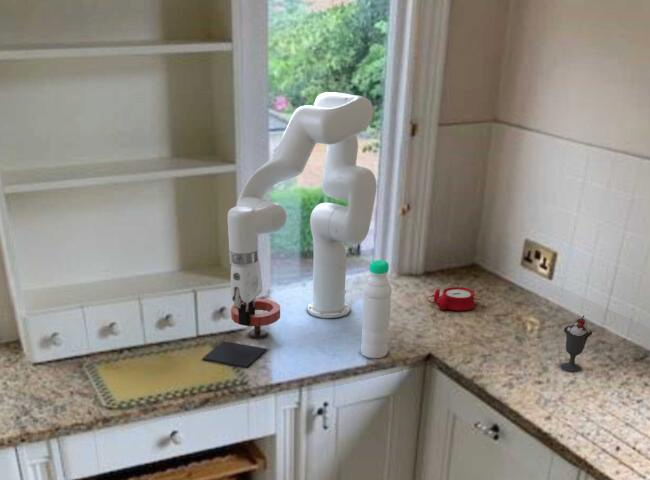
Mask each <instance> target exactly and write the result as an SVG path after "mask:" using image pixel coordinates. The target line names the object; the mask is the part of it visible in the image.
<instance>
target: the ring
mask: <svg viewBox="0 0 650 480" xmlns="http://www.w3.org/2000/svg"><path fill="white" fill-rule="evenodd" d="M241 304H244V303H241ZM244 306H245V304H244ZM253 307H255V311H264V312H265V313H260V314H255V315H250V323H251V324H250V325H249V326H248V325H243V326H245V327H254V326H261V327H264V326H269V325H271V324H274V323H277V322H278V320H280V319H281V305H280V304H279V303H278V302H276V301H274V300H271V299H267V298H255V306H253ZM230 316H231V320H232V321H233V322H234V323H235V324H238V325H240V326H242V325H241V324H239V313H238V310H237V308H234V304H233V305H231V308H230Z"/></svg>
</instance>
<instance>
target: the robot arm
mask: <svg viewBox="0 0 650 480" xmlns="http://www.w3.org/2000/svg"><path fill="white" fill-rule="evenodd" d="M373 117H374V107H373V104H372V102H371V101H370V100H369V99H368V98H367V97H366V96H362V95H359V94H358V95H357V94H356V95H355V94H349V93H348V94H347V93H342V92H332V91H331V92H330V91H329V92H328V91H327V92H323V93H320V94H318V95H317V96H316V98H315V101H314V103H313V105H301V106H299V107H297V108H296V109H295V110H294V111H293V113H292V115H291V117H290V120H289V122H288V123H287V126H286V128H285V129H284V132H283V134H282V137H281V139H280V141H279V143H278V145H277V147H276V149H275V152H274V153H273V156H272V157H271V158H270V159H269V160H268V161H266V162H265V163H263V164H262V165H261V166H260V167H259V168H257V170H256V171H254V172H253V174H251V175H250V177H249V178H248V179H247V180H246V182H245V184H244V186H243V188H242V190H241V192H240V194H239V196H238V199H237V202H236V205H235V206H234V207H231V208H230V209H229V210H228V211H227V232H228V252H229V264H230V265H231V266H230V297H231V300H232V301H233V305H234V308H237V310H238V313H239V324H238V325H240V324H241V325H240V326H244V325H248V326H247V327H250V326H249V325H250V324H251V323H250V315H256V310H255V307H253V306H255V299H257V297H258V296H259V295H260V294H262V292H263V280H262V270H261V264H260V254H259V253H260V252H259V251H260V250H259V235H264V234H274V233H277V232H279V231H280V230H282V228H284V226H285V225H286V222H287V217H288V215H287V211H286V210H285V207H283V206H282V205H280V204H279V203H277V202H274V201H269V200H266V199H263V198H264V197H265V195H266V194H267V193H268V191H269V190H270V189H271V188H273V187H274V186H275V185H277V184H280V183H281V182H285V181H287V180H290V179H293V178H295V177H298V176H300V175H302V173H303V172H304V170H305V168H306V166H307V164H308V161H309V159H310V157H311V155H312V152H313V150H314V148H315V146H316V144H321V145H322V144H324V145H326V151H325V152H326V153H325V159H324V165H323V171H322V177H321V178H322V179H321V190H322V192H323V194H324V195H325V196H327V197H329V198H332V199H335V200H340V201H343V202H347V203H348V205H347V206H346V205H343V204H338V203H334V202H322V203H319V204H317V205H316V206H315V207H314V208H313V210H312V211H311V214H310V219H309V224H310V230H311V236H312V245H313V260H312V302H310V303H309V304H308V305H307V313H309V314H310V315H311V316H314V317H317V318H322V319H337V318H341V317H344V316H347V315H348V314H349V313H350V311H351V310H350V308H351V307H350V305H349V304H348V303H346V294H347V290H346V278H347V276H346V273H347V249H346V245H345V244H348V245H354V246H355V245H359V244H361V243H363V242H364V241H365V239H366V238H367V236H368V234H369V231H370V227H371V222H372V216H373V212H374V207H375V201H376V196H377V179H376V175H375V173H374V172H373V171H372V170H371V169H369V168H367V167H364V166H360V165H357V158H358V151H359V140H358V134H360V133H362V132H363V131H365V130H366V129H367V128H368V127H369V126H370V124H371V123H372V120H373ZM241 303H244V304H245V306H244V304H241Z"/></svg>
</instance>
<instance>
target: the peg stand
mask: <svg viewBox="0 0 650 480" xmlns="http://www.w3.org/2000/svg"><path fill="white" fill-rule="evenodd" d="M248 337H249V338H251V339H263V338H266V337H267V330H265V329H262V326H253V329H250V330H249V331H248Z"/></svg>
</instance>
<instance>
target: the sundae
mask: <svg viewBox="0 0 650 480" xmlns="http://www.w3.org/2000/svg"><path fill="white" fill-rule="evenodd" d="M584 318H585V314H583V316H582V317H581V318H578V319H577V320H576V321H574V322H573V324H572V325H568V326H565V327H564V329H563V332H564V333H565V336H566V338H565V351H566V352H567V354H569V360H568V362H564V363H562V364H560V369H562V370H563V371H566V372H570V373H574V372H575V373H577V372H580V371H581V369H582V367H581V366H580V365H578V364H576V361H575V360H576V357H577V356H579V355H581V354H582V353H583V351H584V350H585V346H586V343H587V341H588V339H589V337H590V336H592V335H593V332H592V330H591V328H589V327H588V324H587V322H586V319H584Z"/></svg>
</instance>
